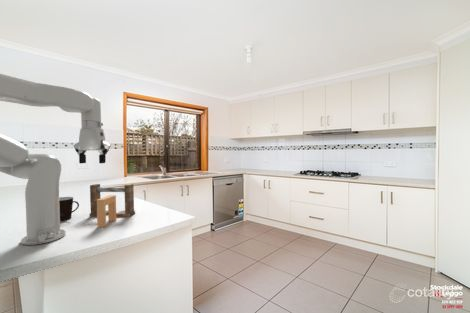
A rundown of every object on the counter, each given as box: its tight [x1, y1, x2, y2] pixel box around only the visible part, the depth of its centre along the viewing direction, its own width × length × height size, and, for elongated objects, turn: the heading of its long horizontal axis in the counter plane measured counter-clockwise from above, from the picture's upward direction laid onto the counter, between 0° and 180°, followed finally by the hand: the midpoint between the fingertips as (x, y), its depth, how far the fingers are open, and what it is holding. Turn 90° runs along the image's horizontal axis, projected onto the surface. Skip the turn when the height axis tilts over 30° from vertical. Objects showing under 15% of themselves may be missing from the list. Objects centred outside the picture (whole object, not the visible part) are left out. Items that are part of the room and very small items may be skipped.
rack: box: [88, 183, 136, 218], centre depth 112 cm, size 20×6×16 cm, turn 88°
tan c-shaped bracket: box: [96, 194, 117, 228], centre depth 99 cm, size 3×9×12 cm, turn 178°
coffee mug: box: [59, 196, 80, 222], centre depth 105 cm, size 12×9×10 cm
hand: (92, 163), depth 101 cm, fingers open, 9 cm apart
